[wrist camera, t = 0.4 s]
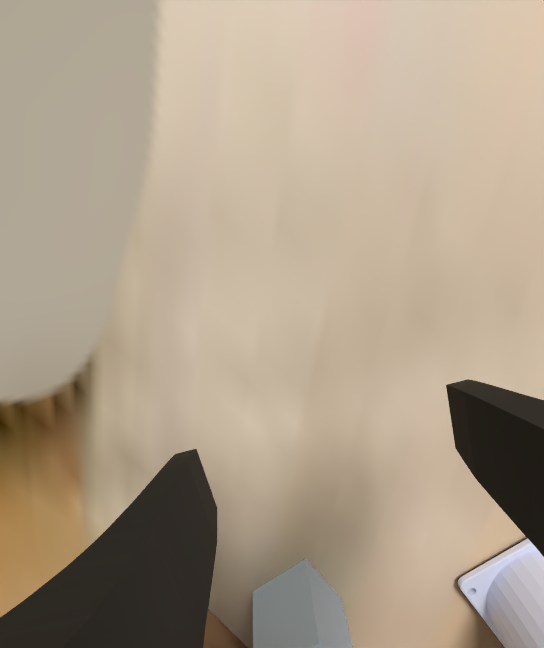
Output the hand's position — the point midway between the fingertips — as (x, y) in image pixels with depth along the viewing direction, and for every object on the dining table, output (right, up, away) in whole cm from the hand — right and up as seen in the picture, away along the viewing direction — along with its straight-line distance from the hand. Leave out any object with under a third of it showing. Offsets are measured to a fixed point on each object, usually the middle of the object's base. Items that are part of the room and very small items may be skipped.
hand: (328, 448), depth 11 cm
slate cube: (0, -13, +14) cm, 19 cm away
